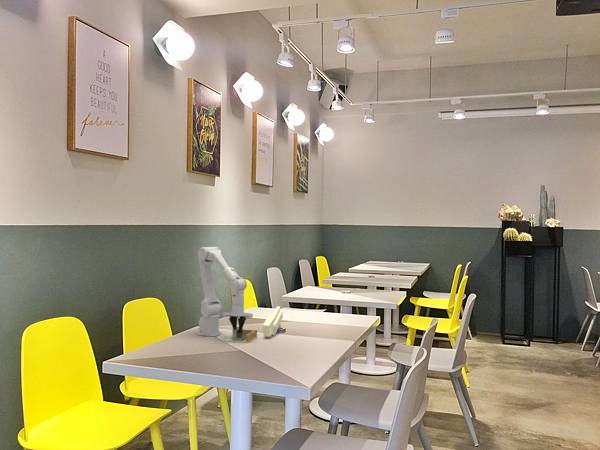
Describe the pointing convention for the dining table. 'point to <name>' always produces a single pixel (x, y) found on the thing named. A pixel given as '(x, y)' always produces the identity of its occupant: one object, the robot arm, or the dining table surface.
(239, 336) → the angle bracket
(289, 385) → the dining table surface
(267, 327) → the shelf bracket
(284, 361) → the dining table surface
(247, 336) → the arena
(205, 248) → the robot arm
